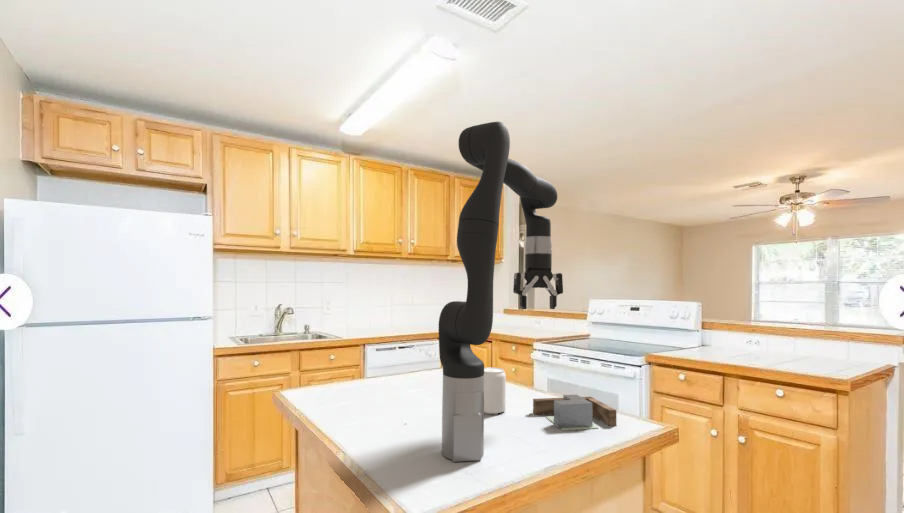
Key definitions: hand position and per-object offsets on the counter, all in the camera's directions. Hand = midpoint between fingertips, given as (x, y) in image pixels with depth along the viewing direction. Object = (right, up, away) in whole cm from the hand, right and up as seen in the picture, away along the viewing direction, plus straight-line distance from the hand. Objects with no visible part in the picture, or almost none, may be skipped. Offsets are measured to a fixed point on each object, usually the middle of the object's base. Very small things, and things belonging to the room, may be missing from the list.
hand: (538, 309), depth 128 cm
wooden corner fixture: (+9, -30, -5) cm, 32 cm away
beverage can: (-13, -30, +2) cm, 33 cm away
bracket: (+7, -30, -8) cm, 31 cm away
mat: (+7, -30, -8) cm, 32 cm away
